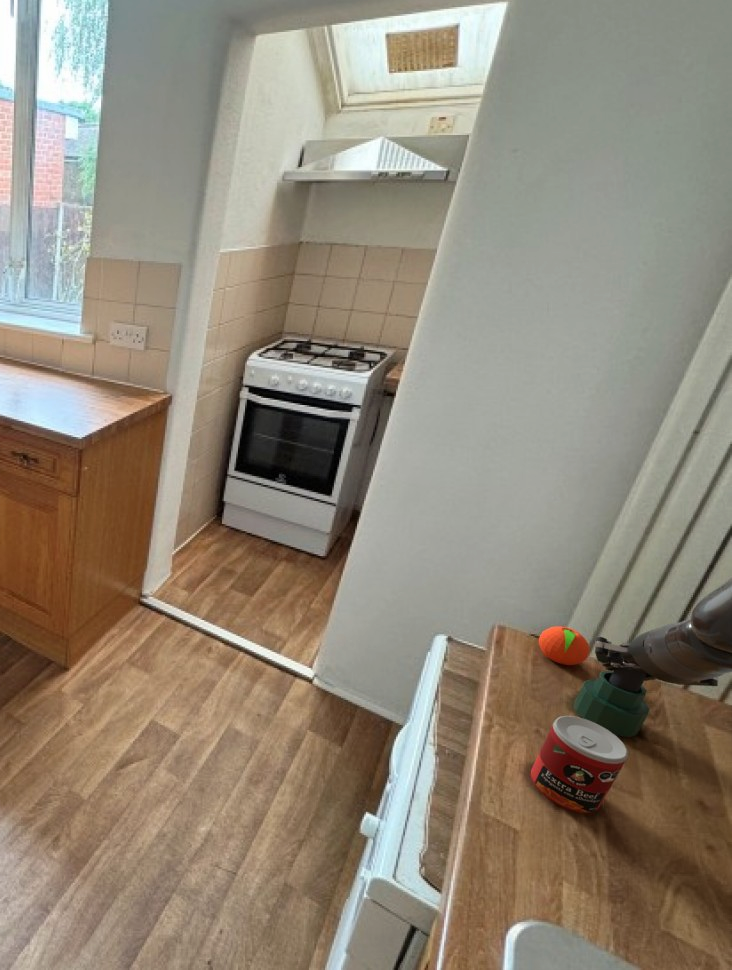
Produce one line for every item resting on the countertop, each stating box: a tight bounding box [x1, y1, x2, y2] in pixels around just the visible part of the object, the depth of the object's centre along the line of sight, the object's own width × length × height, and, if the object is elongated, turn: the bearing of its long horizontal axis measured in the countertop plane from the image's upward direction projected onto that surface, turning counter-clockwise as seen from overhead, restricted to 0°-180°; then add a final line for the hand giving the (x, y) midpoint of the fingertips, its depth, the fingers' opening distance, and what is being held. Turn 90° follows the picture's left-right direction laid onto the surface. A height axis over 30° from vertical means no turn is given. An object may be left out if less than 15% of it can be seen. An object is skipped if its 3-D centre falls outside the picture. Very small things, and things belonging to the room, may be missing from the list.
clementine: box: [538, 626, 591, 666], centre depth 113 cm, size 8×7×7 cm
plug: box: [608, 668, 648, 693], centre depth 98 cm, size 3×3×8 cm
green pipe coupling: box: [573, 670, 651, 738], centre depth 100 cm, size 8×8×8 cm
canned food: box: [530, 715, 629, 814], centre depth 87 cm, size 8×8×11 cm
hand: (624, 668), depth 99 cm, fingers closed on plug, 3 cm apart
